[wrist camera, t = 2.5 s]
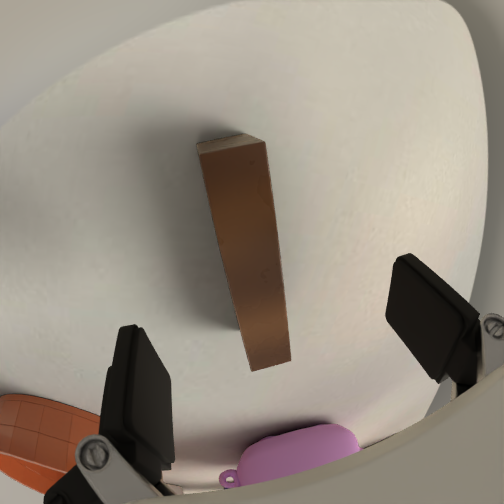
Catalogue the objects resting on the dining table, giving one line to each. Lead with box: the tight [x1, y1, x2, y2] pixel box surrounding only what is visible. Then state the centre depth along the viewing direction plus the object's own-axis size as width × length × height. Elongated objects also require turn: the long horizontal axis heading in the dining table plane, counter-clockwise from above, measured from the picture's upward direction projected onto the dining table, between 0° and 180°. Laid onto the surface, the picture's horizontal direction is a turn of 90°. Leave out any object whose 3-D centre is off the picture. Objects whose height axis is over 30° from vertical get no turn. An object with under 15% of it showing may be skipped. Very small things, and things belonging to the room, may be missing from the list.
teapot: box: [219, 424, 363, 488], centre depth 23 cm, size 20×13×12 cm, turn 88°
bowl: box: [0, 394, 163, 495], centre depth 18 cm, size 20×20×6 cm
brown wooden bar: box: [196, 134, 291, 372], centre depth 13 cm, size 11×2×3 cm, turn 9°
